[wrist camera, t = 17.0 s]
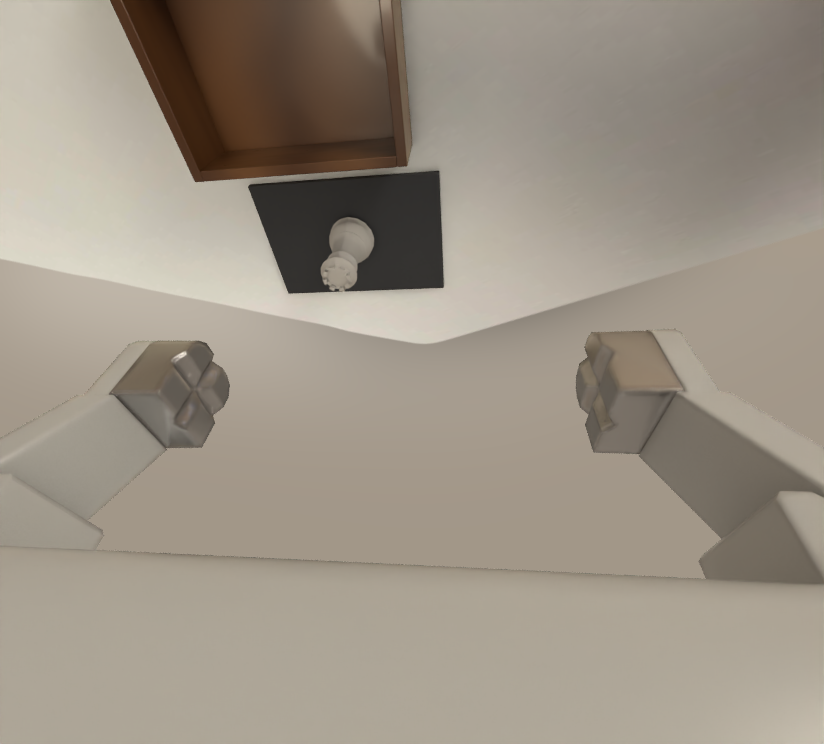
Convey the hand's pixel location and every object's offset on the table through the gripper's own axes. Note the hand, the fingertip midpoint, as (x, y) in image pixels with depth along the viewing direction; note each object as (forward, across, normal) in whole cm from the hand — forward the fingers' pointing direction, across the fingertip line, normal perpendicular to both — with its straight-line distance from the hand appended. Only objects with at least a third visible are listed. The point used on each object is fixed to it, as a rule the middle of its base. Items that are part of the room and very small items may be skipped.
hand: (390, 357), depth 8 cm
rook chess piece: (+31, +9, +12) cm, 34 cm away
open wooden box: (+31, +11, -3) cm, 33 cm away
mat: (+31, +9, +12) cm, 35 cm away
